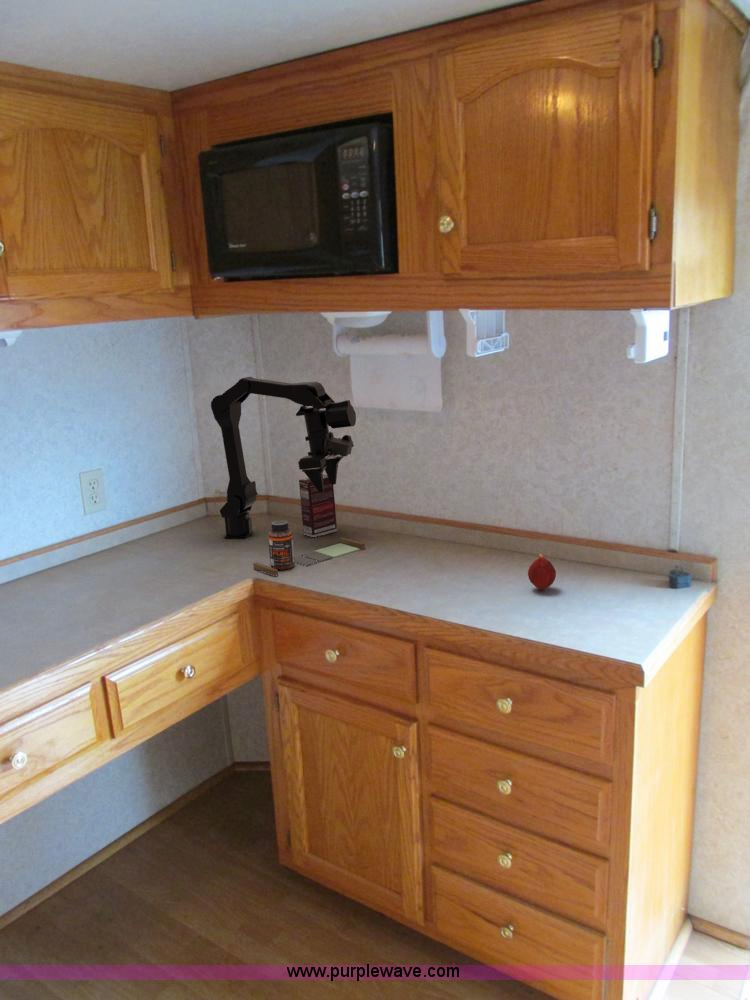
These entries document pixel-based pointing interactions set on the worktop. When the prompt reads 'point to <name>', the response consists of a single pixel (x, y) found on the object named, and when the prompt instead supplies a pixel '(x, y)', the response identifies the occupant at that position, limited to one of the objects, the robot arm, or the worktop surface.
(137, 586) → the worktop surface
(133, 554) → the worktop surface
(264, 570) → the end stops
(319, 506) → the supplement box
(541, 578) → the onion
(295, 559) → the pads
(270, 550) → the supplement bottle
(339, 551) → the pad
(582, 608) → the worktop surface
